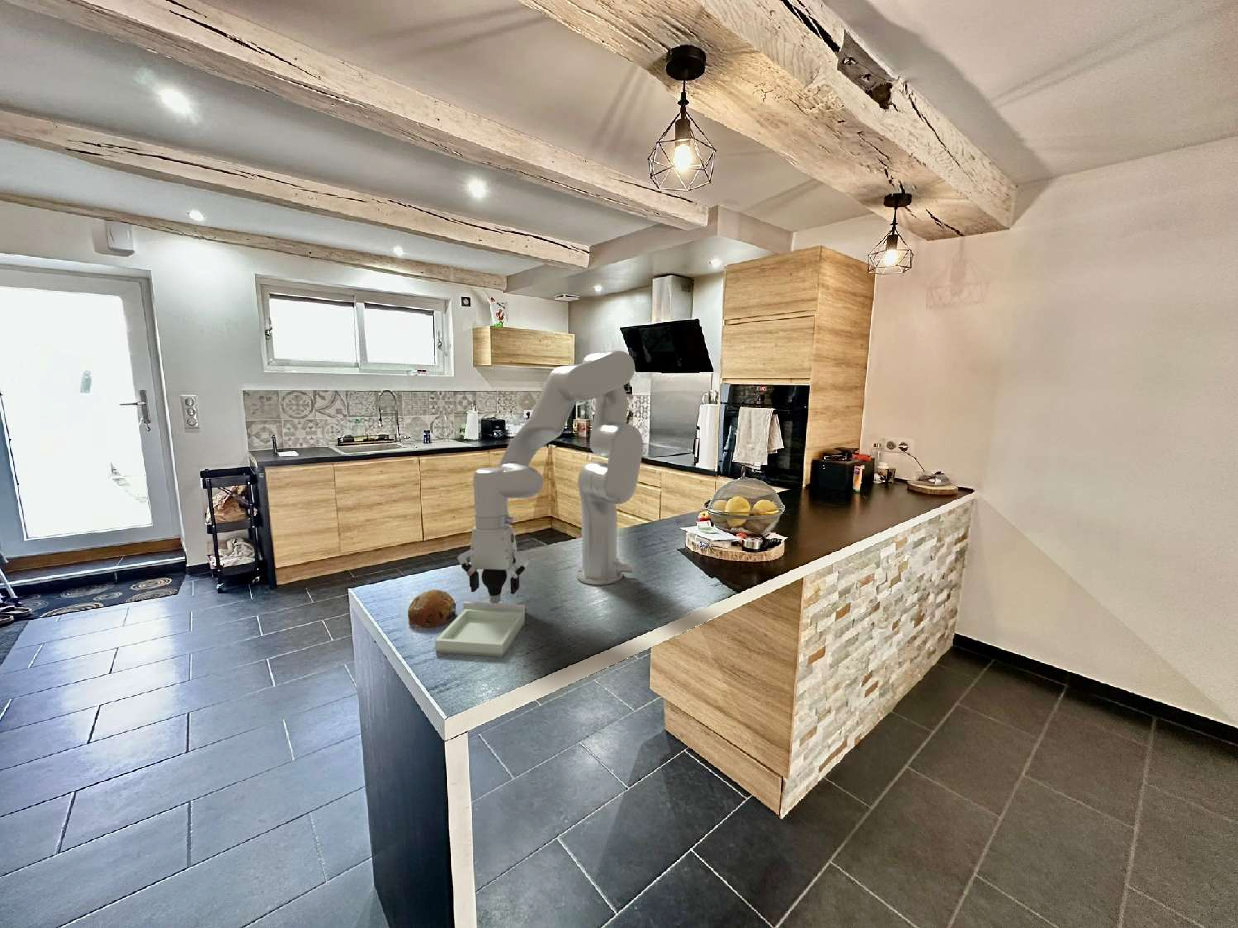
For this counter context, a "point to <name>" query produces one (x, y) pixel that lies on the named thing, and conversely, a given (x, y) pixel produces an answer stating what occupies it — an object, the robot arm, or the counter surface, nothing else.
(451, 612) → the bread roll
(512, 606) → the white flat bar
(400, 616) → the counter surface
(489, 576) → the light bulb
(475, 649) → the dish
